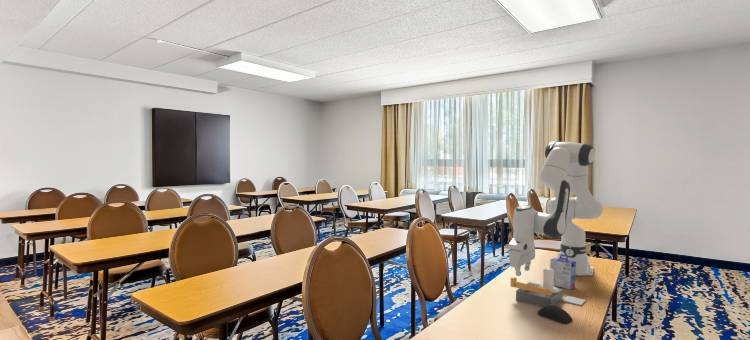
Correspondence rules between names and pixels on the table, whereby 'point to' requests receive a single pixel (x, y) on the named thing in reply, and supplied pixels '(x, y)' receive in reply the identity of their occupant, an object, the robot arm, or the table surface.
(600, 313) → the table surface
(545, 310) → the computer mouse
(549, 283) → the plug
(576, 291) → the table surface
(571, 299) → the pad
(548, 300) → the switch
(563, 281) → the ink cartridge box
